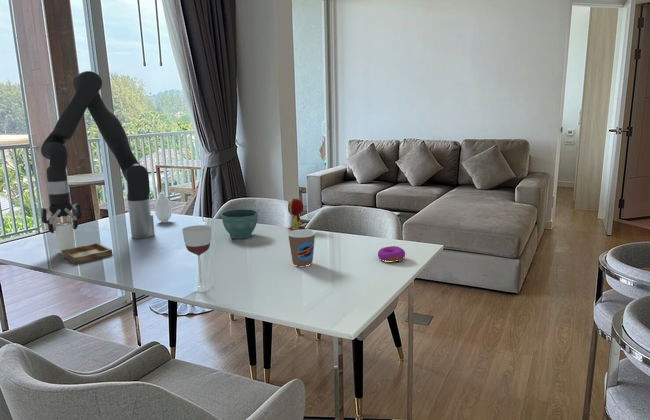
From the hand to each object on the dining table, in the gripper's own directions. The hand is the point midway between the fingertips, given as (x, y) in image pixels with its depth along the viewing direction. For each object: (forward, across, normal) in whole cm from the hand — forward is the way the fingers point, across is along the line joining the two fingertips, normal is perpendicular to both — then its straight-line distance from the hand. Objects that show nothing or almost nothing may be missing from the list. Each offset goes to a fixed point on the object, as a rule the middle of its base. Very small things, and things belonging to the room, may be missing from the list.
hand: (63, 230), depth 197 cm
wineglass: (+9, -17, +78) cm, 81 cm away
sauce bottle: (+8, -52, -18) cm, 56 cm away
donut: (+8, -81, +106) cm, 134 cm away
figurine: (+8, -87, +46) cm, 98 cm away
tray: (+9, -4, +13) cm, 16 cm away
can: (+9, 0, 0) cm, 9 cm away
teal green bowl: (+8, -63, +35) cm, 72 cm away
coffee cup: (+8, -55, +85) cm, 102 cm away
